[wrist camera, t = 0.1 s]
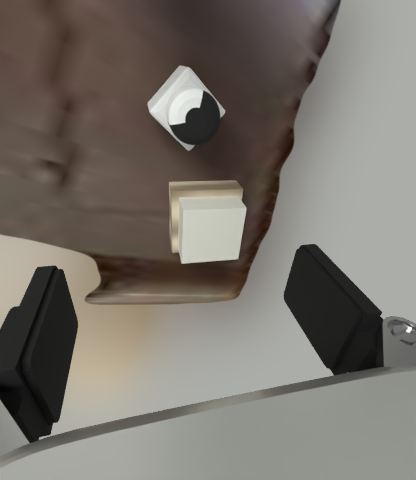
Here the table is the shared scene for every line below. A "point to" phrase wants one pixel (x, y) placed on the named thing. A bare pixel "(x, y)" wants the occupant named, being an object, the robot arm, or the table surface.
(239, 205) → the tower top block
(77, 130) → the table surface
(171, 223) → the tower base block
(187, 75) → the medicine bottle
